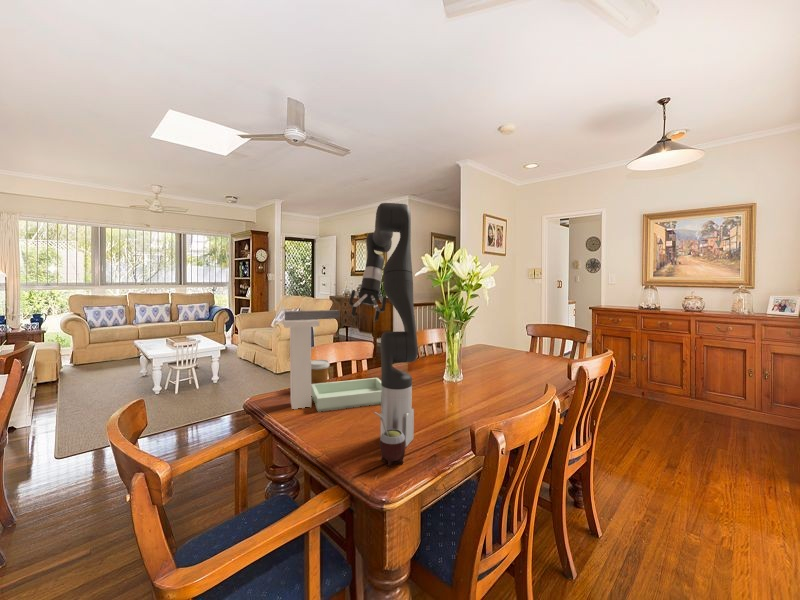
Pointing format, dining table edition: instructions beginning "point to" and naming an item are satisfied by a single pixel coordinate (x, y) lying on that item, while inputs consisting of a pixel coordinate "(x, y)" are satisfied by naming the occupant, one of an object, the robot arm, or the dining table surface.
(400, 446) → the mate gourd
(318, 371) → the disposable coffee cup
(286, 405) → the dining table surface
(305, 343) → the stand
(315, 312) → the bar
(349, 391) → the tray
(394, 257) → the robot arm
